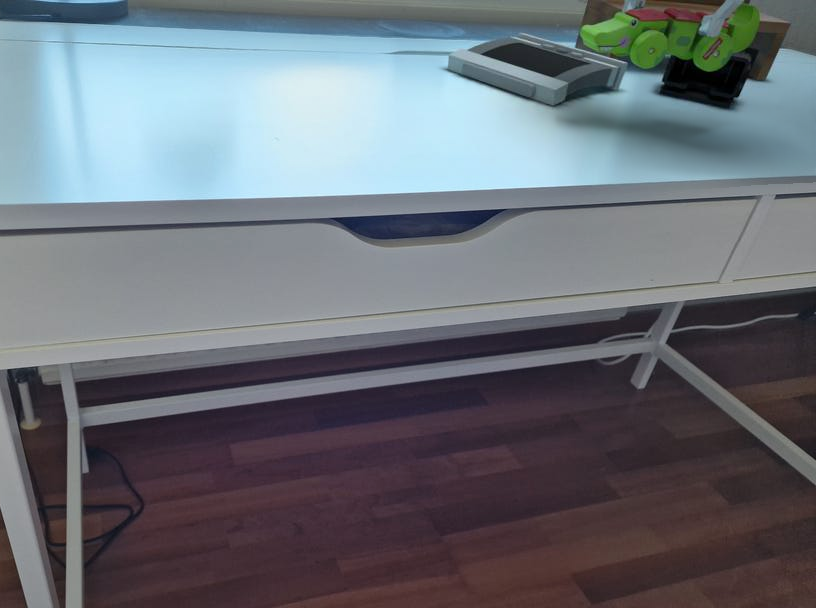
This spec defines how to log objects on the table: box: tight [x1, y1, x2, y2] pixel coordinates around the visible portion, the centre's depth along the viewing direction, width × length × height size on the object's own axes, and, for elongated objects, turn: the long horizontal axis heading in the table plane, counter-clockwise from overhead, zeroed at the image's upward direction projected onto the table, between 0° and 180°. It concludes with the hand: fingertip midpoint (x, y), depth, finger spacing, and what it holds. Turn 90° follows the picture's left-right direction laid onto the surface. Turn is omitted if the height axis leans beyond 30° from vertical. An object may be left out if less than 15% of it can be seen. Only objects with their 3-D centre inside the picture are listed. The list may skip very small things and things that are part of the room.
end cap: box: [659, 47, 759, 109], centre depth 89 cm, size 10×7×7 cm
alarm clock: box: [447, 32, 629, 107], centre depth 89 cm, size 17×5×16 cm
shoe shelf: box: [574, 0, 792, 81], centre depth 101 cm, size 12×26×10 cm, turn 96°
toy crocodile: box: [579, 3, 760, 71], centre depth 73 cm, size 20×7×6 cm, turn 96°
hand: (667, 25), depth 73 cm, fingers closed on toy crocodile, 8 cm apart
